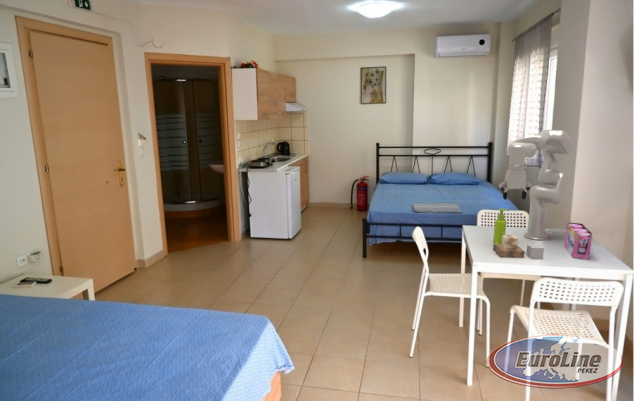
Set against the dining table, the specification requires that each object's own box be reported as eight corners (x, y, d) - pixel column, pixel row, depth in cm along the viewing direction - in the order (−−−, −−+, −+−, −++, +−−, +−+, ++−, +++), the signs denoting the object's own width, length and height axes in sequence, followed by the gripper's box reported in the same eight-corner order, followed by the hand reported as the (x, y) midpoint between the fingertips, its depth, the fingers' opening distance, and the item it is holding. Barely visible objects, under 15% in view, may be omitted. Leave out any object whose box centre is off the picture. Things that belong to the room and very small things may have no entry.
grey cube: (537, 255, 231) (539, 244, 230) (542, 259, 225) (544, 248, 224) (526, 255, 232) (527, 244, 231) (530, 259, 226) (531, 247, 225)
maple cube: (512, 246, 235) (513, 235, 234) (516, 249, 229) (517, 238, 228) (501, 245, 236) (502, 234, 235) (504, 249, 230) (506, 238, 229)
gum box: (590, 260, 224) (593, 234, 221) (572, 258, 227) (576, 233, 224) (579, 246, 246) (582, 223, 243) (563, 245, 249) (566, 222, 246)
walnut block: (515, 251, 239) (516, 244, 238) (523, 258, 227) (524, 251, 226) (492, 250, 240) (493, 243, 239) (500, 258, 228) (500, 250, 227)
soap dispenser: (507, 244, 250) (511, 210, 246) (495, 244, 250) (498, 210, 246) (504, 241, 255) (507, 207, 251) (491, 241, 256) (494, 207, 252)
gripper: (530, 166, 237) (527, 197, 241) (497, 167, 238) (495, 197, 242) (536, 168, 230) (533, 200, 234) (502, 169, 231) (500, 200, 235)
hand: (514, 199), depth 238 cm, fingers open, 9 cm apart
